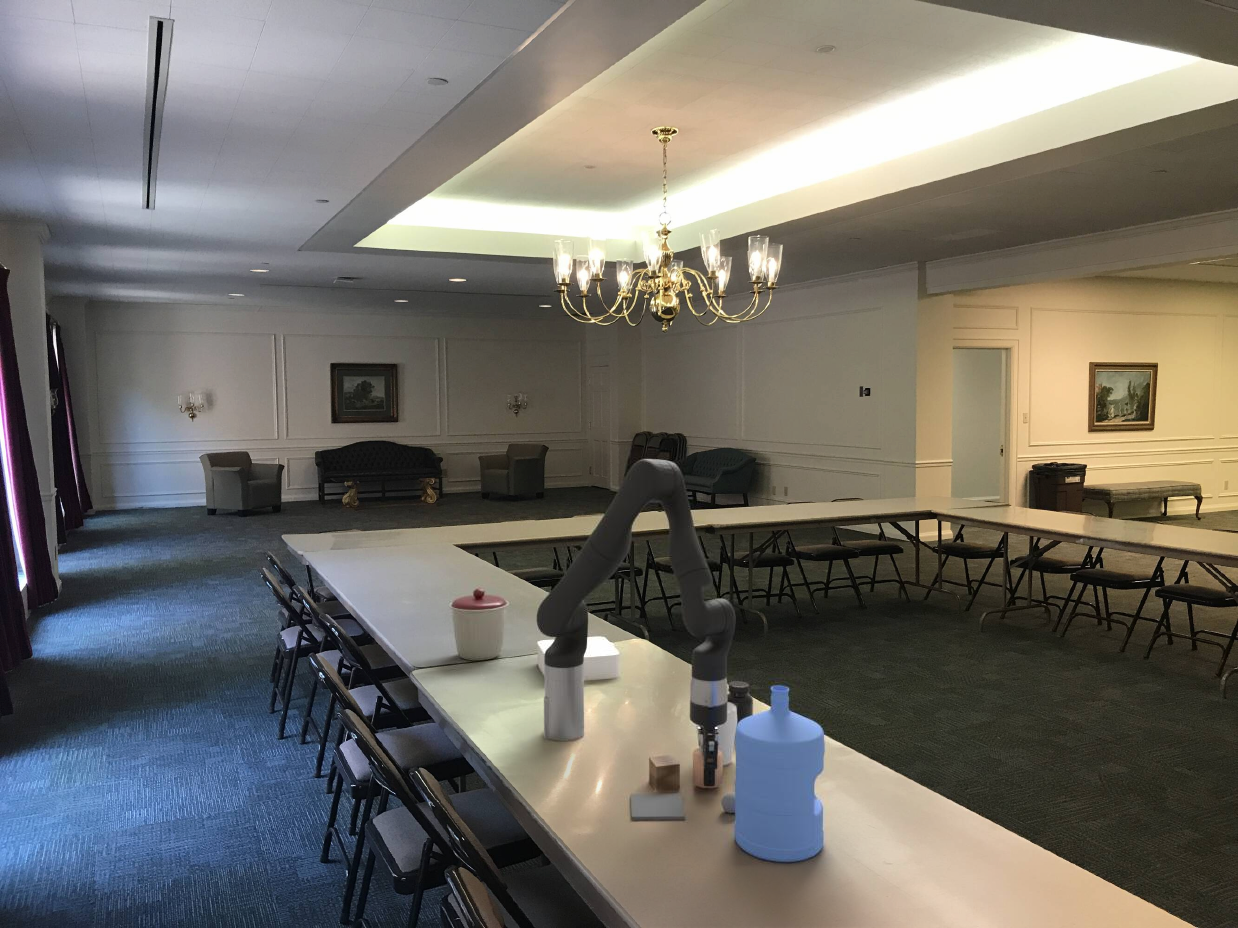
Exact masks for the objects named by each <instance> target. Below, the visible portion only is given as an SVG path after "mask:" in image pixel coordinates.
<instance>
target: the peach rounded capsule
mask: <svg viewBox="0 0 1238 928" xmlns="http://www.w3.org/2000/svg"><path fill="white" fill-rule="evenodd" d="M703 749H704V748H703ZM704 751H705V750H704ZM722 760H723V753H722V752H721V751H720V750H718V755H717V764H718V767H717V769H715V785H714V786H704V783H703V781H704V767H703V756H701V751H700V748H699V747H698V748H696V749H693V751H692V784H693V785H695V786H697V787H699V788H701V789H702V788H703V789H713V788H718V787H720V786H721V785H723V766H722ZM707 762H713V759H708V760H707Z"/></svg>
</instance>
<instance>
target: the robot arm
mask: <svg viewBox="0 0 1238 928" xmlns="http://www.w3.org/2000/svg"><path fill="white" fill-rule="evenodd" d="M620 484H621V485H620V486H619V488H618V490H617V492H616V494H615V496H614V498H613V500H612V502H611V504H610V505H609V506H608V508H607V510H606V511H605V512H604V515H602V518H601V519H600V521H599V523H598V524H597V525H596V527H595V529H593V531H592V533H590V535H589V537H588V538H587V540H586V541H585V542H584V545H582V547H581V549H580V551H579V553H578V554H577V555H576V557H575V558H574V560H573V561H572V562H571V564H570V565H569V567H568V568H567V570H566V572H565V573H564V575H563V576H562V577H561V579H560V580H559V581H558V583H556V585H555V586H554V587H553V589H551V591H550V592H549V593H548V595H546V596H545V598H544V599H543V600H542V601H541V603H540V604H539V606H538V609H537V612H536V624H537V625H536V626H537V628H538V630H539V631H540V633H542V635H545V636H546V637H548V638H549V637H550V638H554V639H553V640H554V642H553V643H552V645H551V646H550V647H549V648H548V649H547V650H546V651H545V655H544V663H545V677H544V697H543V738H544V740H545V739H546V740H547V739H548V740H549V739H550V740H553V741H558V742H559V741H562V742H564V741H565V742H566V741H567V742H569V741H574V740H577V739H581V738H582V737H583V736H584V735H585V681H584V654H585V652H586V649H587V638H588V637H589V636H588V635H589V634H588V633H589V613H588V612H589V611H588V606H587V604H586V602H585V599H586V598H587V597H588V596H590V595H591V594H592V593H593V592H594V591H595V590H597V589H598V588H599V587H600V586H602V585H603V584H604V583H605V582H607V581H608V580H609V579H610V578H611V577H612V576H613V574H615V572H616V571H617V570H618V568H619V567H620V566H621V565H622V563H623V561H624V560H625V558H626V557H627V556H628V554H629V552H630V550H631V546H632V533H633V531H632V530H633V525H634V522H635V521H636V519H637V517H638V516H639V514H640V513H641V512H642V510H643V509H644V508H645V507H646V506H647V505H648V504H649V503H653V504H654V503H659V504H660V506H661V507H662V508H663V510H664V514H665V515H666V518H667V521H668V527H669V528H668V529H669V531H668V532H669V533H668V534H669V535H668V546H667V548H668V549H667V550H668V559H669V563H670V565H671V568H672V571H673V575H674V576H675V578H676V581H677V584H678V586H679V593H680V594H679V595H680V596H679V597H680V602H681V613H682V614H681V615H682V620H683V624H684V626H685V628H686V630H687V631H688V632H689V633H690V634H691V635H692V636H694V637H695V638H700V639H701V638H705V641H703V643H701V644H698V646H696V647H695V648H694V649H693V650H692V654H691V678H690V685H689V720H690V721H691V722H692V723H693V724H695V725H696V724H697V725H699V727H698V735H697V743H698V748H699V747H700V751H701V756H703V767H704V781H703V783H704V786H714V785H715V769H717V767H718V764H717V755H718V740H719V732H717V728H715V727H717V726H719V725H722V724H724V723H725V722H726V721H727V694H728V693H729V692H728V680H727V679H728V678H727V674H728V673H727V668H728V666H727V665H728V663H727V659H728V654H729V651H730V647H731V645H732V641H733V637H734V634H735V628H736V624H737V623H736V622H737V620H736V619H737V617H736V612H735V608H734V606H733V605H732V604H731V602H730V601H729V600H728V599H725V598H714V599H708V600H704V597H703V592H704V591H706V590H707V589H709V588H710V587H711V586H712V584H713V581H714V580H713V576H712V573H711V569H710V567H709V565H708V563H707V560H706V558H705V555H704V552H703V551H702V548H701V545H700V542H699V539H698V535H697V532H696V527H695V525H694V520H693V516H692V510H691V507H690V503H689V497H688V492H687V488H686V485H685V480H684V476H683V473H682V471H681V469H680V467H679V466H678V465H677V464H676V463H675V462H673V461H670V460H665V459H655V458H654V459H653V458H642V459H639V460H638V461H636V462H635V463H633V464H632V466H630V468H629V470H628V471H627V473H626V475H625V476H624V479H623V481H622V483H620ZM703 748H704V749H703ZM704 750H705V751H704ZM708 759H713V762H707V760H708Z"/></svg>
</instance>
